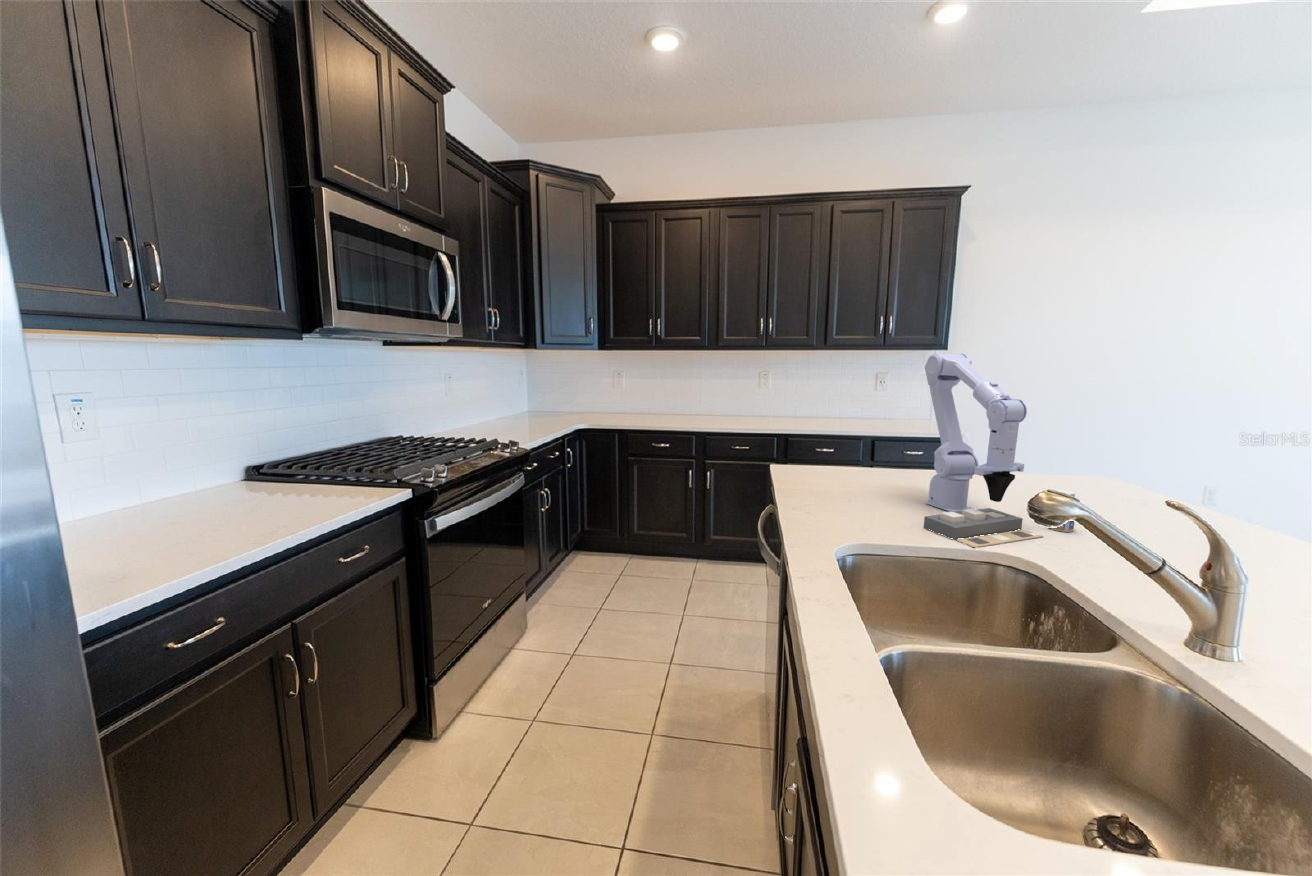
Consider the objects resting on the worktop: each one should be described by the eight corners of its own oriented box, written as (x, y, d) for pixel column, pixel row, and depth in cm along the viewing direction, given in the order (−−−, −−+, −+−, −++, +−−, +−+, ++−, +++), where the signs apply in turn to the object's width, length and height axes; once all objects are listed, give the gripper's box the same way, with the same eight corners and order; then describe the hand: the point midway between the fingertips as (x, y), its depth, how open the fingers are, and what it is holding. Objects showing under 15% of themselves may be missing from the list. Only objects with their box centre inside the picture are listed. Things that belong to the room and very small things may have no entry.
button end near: (939, 524, 130) (940, 512, 129) (950, 523, 131) (952, 511, 130) (952, 529, 126) (953, 517, 126) (963, 527, 128) (964, 515, 127)
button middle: (961, 521, 132) (962, 510, 132) (971, 520, 133) (973, 508, 133) (973, 526, 129) (975, 514, 128) (984, 524, 130) (986, 513, 129)
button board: (923, 527, 132) (924, 516, 131) (988, 518, 139) (989, 508, 138) (954, 540, 124) (955, 527, 123) (1021, 529, 131) (1022, 518, 130)
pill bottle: (1064, 525, 134) (1069, 488, 132) (1078, 533, 129) (1084, 494, 127) (1041, 524, 134) (1046, 488, 133) (1055, 532, 129) (1060, 494, 127)
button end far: (981, 524, 135) (982, 513, 134) (991, 522, 136) (992, 511, 135) (994, 528, 131) (995, 517, 131) (1004, 527, 132) (1005, 515, 132)
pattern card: (956, 540, 123) (956, 539, 123) (1023, 530, 130) (1023, 529, 130) (974, 548, 118) (974, 546, 118) (1043, 537, 126) (1043, 535, 126)
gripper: (995, 453, 124) (988, 508, 126) (1038, 449, 129) (1031, 502, 131) (969, 447, 131) (963, 499, 133) (1011, 444, 135) (1004, 494, 138)
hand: (995, 500), depth 132 cm, fingers closed
